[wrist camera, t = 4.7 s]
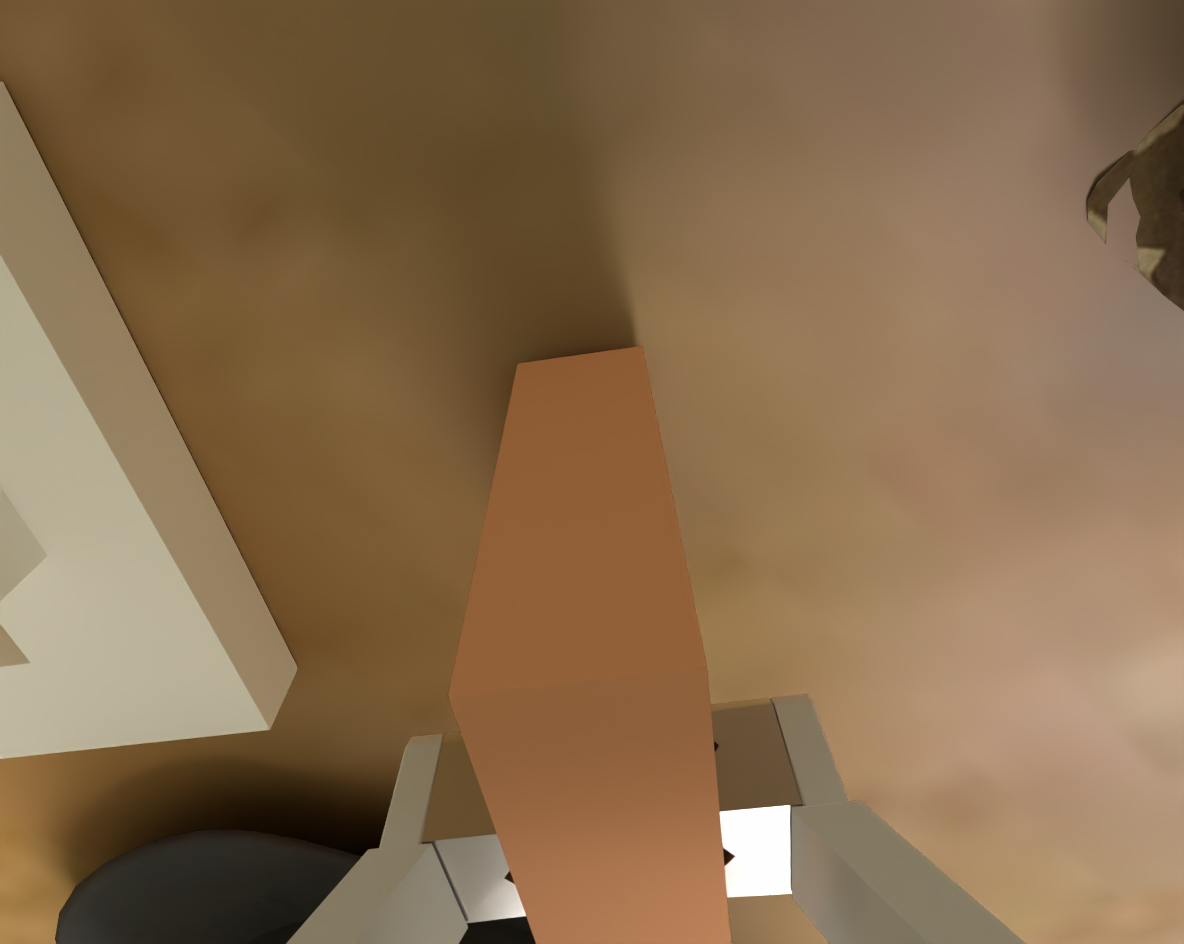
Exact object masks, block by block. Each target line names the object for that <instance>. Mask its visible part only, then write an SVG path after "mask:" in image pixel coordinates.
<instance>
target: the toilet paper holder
mask: <svg viewBox="0 0 1184 944" xmlns="http://www.w3.org/2000/svg"><path fill="white" fill-rule="evenodd" d="M297 670H298V667H297V665H296V663H295V661H294V659H293V657H292V655H291V653H290V651H289V649H288V647H287V645H286V643H285V641H284V639H283V637H282V635H281V633H280V631H279V629H278V627H277V625H276V623H275V621H274V619H273V617H272V615H271V613H270V611H269V609H268V607H267V605H266V603H265V601H264V599H263V597H262V595H261V594H260V592H259V590H258V588H257V586H256V584H255V582H254V580H253V578H252V576H251V574H250V572H249V570H248V568H247V566H246V564H245V562H244V560H243V558H242V556H241V554H240V552H239V550H238V548H237V546H236V544H235V542H234V540H233V538H232V536H231V534H230V532H229V530H228V528H227V526H226V524H225V522H224V520H223V518H222V516H221V514H220V512H219V510H218V508H217V506H216V504H215V502H214V500H213V498H212V496H211V494H210V492H209V490H208V488H207V486H206V484H205V482H204V480H203V478H202V476H201V474H200V472H199V470H198V468H197V466H196V464H195V462H194V460H193V458H192V456H191V454H190V452H189V450H188V448H187V446H186V444H185V442H184V440H183V438H182V436H181V434H180V433H179V431H178V429H177V427H176V425H175V423H174V421H173V419H172V417H171V415H170V413H169V411H168V409H167V407H166V405H165V403H164V401H163V399H162V397H161V395H160V393H159V391H158V389H157V387H156V385H155V383H154V381H153V379H152V377H151V375H150V373H149V371H148V369H147V367H146V365H145V363H144V361H143V359H142V357H141V355H140V353H139V351H138V349H137V347H136V345H135V343H134V341H133V339H132V337H131V335H130V333H129V331H128V329H127V327H126V325H125V323H124V321H123V319H122V317H121V315H120V313H119V311H118V309H117V307H116V305H115V303H114V301H113V299H112V297H111V295H110V293H109V291H108V289H107V287H106V285H105V283H104V281H103V279H102V277H101V275H100V273H99V271H98V270H97V268H96V266H95V264H94V262H93V260H92V258H91V256H90V254H89V252H88V250H87V248H86V246H85V244H84V242H83V240H82V238H81V236H80V234H79V232H78V230H77V228H76V226H75V224H74V222H73V220H72V218H71V216H70V214H69V212H68V210H67V208H66V206H65V204H64V202H63V200H62V198H61V196H60V194H59V192H58V190H57V188H56V186H55V184H54V182H53V180H52V178H51V176H50V174H49V172H48V170H47V168H46V166H45V164H44V162H43V160H42V158H41V156H40V154H39V152H38V150H37V148H36V146H35V144H34V142H33V140H32V138H31V136H30V134H29V132H28V130H27V128H26V126H25V124H24V122H23V120H22V118H21V116H20V114H19V112H18V110H17V109H16V107H15V105H14V103H13V101H12V99H11V97H10V95H9V93H8V91H7V89H6V87H5V85H4V83H3V82H0V759H4V758H14V757H23V756H32V755H41V754H51V753H60V752H69V751H78V750H88V749H97V748H106V747H115V746H125V745H134V744H143V743H152V742H162V741H171V740H180V739H190V738H199V737H208V736H217V735H227V734H236V733H245V732H254V731H264V730H270V729H271V727H272V725H273V722H274V720H275V718H276V716H277V714H278V711H279V709H280V707H281V705H282V703H283V700H284V698H285V696H286V694H287V692H288V689H289V687H290V685H291V683H292V681H293V679H294V676H295V674H296V672H297Z"/></svg>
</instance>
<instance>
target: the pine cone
mask: <svg viewBox="0 0 1184 944" xmlns="http://www.w3.org/2000/svg"><path fill="white" fill-rule="evenodd" d="M1128 178H1130V184H1131V189H1132V195H1133V199H1134V202H1135V204H1136V206H1137V209H1138V211H1139V214H1140V216H1141V218H1140V222H1139V226H1138V230H1137V234H1136V241H1137V251H1138V260H1139V267H1137V266H1135V265H1133V264H1131V263H1129V262H1127V261H1126V262H1127V263H1128V264H1130V265H1131V266H1132V267H1133V268H1135V269H1136V270H1137V271H1138V272H1139V273H1141V274H1142V275H1143V276H1144V277H1145V278H1146V279H1147V280H1148V281H1149V282H1150V283H1151V284H1152V285H1153V286H1154V287H1156V288H1157V289H1158V290H1159V291H1160V292H1161V293H1162V294H1163V295H1164V296H1165V297H1167V298H1168V299H1169V300H1171V301H1172V302H1173V303H1175V304H1176V305H1177V306H1178V307H1180V308H1181V309H1182V310H1184V104H1183V105H1181V106H1179V107H1178V108H1177V109H1176V110H1175V111H1173V112H1172V113H1171V114H1170V115H1169V116H1168V117H1167V118H1165V119H1164V120H1163V121H1162V122H1161V123H1160V124H1159V125H1157V126H1156V127H1155V128H1154V129H1153V130H1152V131H1151V132H1150V133H1149V134H1148V135H1147V136H1146V137H1145V138H1144V139H1143V140H1142V141H1141V143H1140V145H1139V147H1138V149H1137V150H1134V151H1129V152H1128V153H1127V154H1126V155H1125V156H1124V157H1123V158H1122V159H1121V160H1120V161H1119V162H1118V163H1116V164H1115V165H1114V166H1113V167H1112V168H1111V169H1110V170H1109V171H1108V172H1107V173H1106V174H1105V175H1104V176H1103V177H1102V178H1101V179H1100V180H1099V181H1098V182H1097V184H1096V186H1095V188H1094V189H1093V191H1092V193H1091V195H1090V197H1089V199H1088V201H1087V209H1088V222H1089V223H1090V225H1091V226H1092V227H1093V228H1094V230H1095V231H1096V232H1097V233H1098V235H1099V236H1100V237H1101V239H1102V240H1103V241H1104V242H1105V244H1106V232H1107V209H1108V203H1109V202H1110V201H1111V200H1112V198H1113V197H1114V196H1115V194H1116V193H1117V192H1118V191H1119V189H1120V188H1121V187H1122V185H1123V184H1124V183H1125V182H1126V180H1127V179H1128Z"/></svg>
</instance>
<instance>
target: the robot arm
mask: <svg viewBox="0 0 1184 944" xmlns="http://www.w3.org/2000/svg"><path fill="white" fill-rule="evenodd" d="M711 717H712V728H713V740H714V751H715V763H716V774H717V786H718V797H719V809H720V820H721V832H722V843H723V854H724V866H725V877H726V889H727V898H728V897H744V896H760V895H776V894H791V893H792V898H793V899H794V900H795V902H796V903H797V904H798V905H799V907H800V908H801V909H802V910H803V911H804V913H805V914H806V915H807V916H808V918H809V919H810V920H811V921H812V922H813V924H814V925H815V926H816V927H817V929H818V930H819V931H820V932H821V933H822V935H823V936H824V937H825V938H826V940H827V941H828V942H829V943H830V944H1026V943H1025V942H1024V941H1023V940H1022V939H1020V938H1019V937H1018V936H1017V935H1016V934H1015V933H1013V932H1012V931H1011V930H1010V929H1009V928H1008V927H1006V926H1005V925H1004V924H1003V923H1002V922H1001V921H999V920H998V919H997V918H996V917H995V916H994V915H993V914H991V913H990V912H989V911H988V910H987V909H986V908H984V907H983V906H982V905H981V904H980V903H979V902H977V901H976V900H975V899H974V898H973V897H972V896H970V895H969V894H968V893H967V892H966V891H965V890H964V889H962V888H961V887H960V886H959V885H958V884H957V883H955V882H954V881H953V880H952V879H951V878H950V877H948V876H947V875H946V874H945V873H944V872H943V871H941V870H940V869H939V868H938V867H937V866H936V865H935V864H933V863H932V862H931V861H930V860H929V859H928V858H926V857H925V856H924V855H923V854H922V853H921V852H919V851H918V850H917V849H916V848H915V847H914V846H912V845H911V844H910V843H909V842H908V841H907V840H905V839H904V838H903V837H902V836H901V835H900V834H899V833H897V832H896V831H895V830H894V829H893V828H892V827H890V826H889V825H888V824H887V823H886V822H885V821H883V820H882V819H881V818H880V817H879V816H878V815H876V814H875V813H874V812H873V811H872V810H871V809H870V808H868V807H867V806H866V805H865V804H864V803H863V802H861V801H848V798H847V795H846V793H845V790H844V787H843V784H842V781H841V779H840V776H839V773H838V770H837V768H836V765H835V762H834V759H833V757H832V754H831V751H830V748H829V745H828V743H827V740H826V737H825V734H824V732H823V729H822V726H821V723H820V720H819V718H818V715H817V712H816V709H815V707H814V704H813V701H812V699H811V698H810V697H809V696H808V695H807V694H803V695H794V696H785V697H775V698H771V699H769V698H761V699H753V700H745V701H737V702H728V703H720V704H712V705H711ZM522 916H526V914H525V911H524V908H523V906H522V903H521V900H520V897H519V894H518V892H517V889H516V886H515V883H514V880H513V878H512V875H511V872H510V869H509V866H508V864H507V861H506V858H505V855H504V852H503V850H502V847H501V844H500V841H499V838H498V836H497V833H496V830H495V827H494V824H493V822H492V819H491V816H490V813H489V810H488V807H487V805H486V802H485V799H484V796H483V793H482V791H481V788H480V785H479V782H478V779H477V777H476V774H475V771H474V768H473V765H472V763H471V760H470V757H469V754H468V751H467V749H466V746H465V743H464V740H463V737H462V735H461V732H454V733H444V734H434V735H423V736H413V737H411V739H410V741H409V742H408V744H407V745H406V747H405V750H404V754H403V758H402V761H401V765H400V769H399V773H398V777H397V781H396V785H395V788H394V792H393V796H392V800H391V804H390V808H389V812H388V815H387V819H386V823H385V827H384V831H383V835H382V839H381V842H380V846H379V848H375V849H368V850H367V852H366V853H365V854H364V855H363V856H362V857H361V858H360V860H359V861H358V862H357V863H356V864H355V865H354V866H353V868H352V869H351V870H350V871H349V872H348V873H347V874H346V876H345V877H344V878H343V879H342V880H341V881H340V882H339V884H338V885H337V886H336V887H335V888H334V889H333V890H332V892H331V893H330V894H329V895H328V896H327V897H326V898H325V900H324V901H323V902H322V903H321V904H320V905H319V907H318V908H317V909H316V910H315V911H314V912H313V913H312V915H311V916H310V917H309V918H308V919H307V920H306V921H305V923H304V924H303V925H302V926H301V927H300V928H299V929H298V931H297V932H296V933H295V934H294V935H293V936H292V937H291V939H290V940H289V941H288V942H287V943H286V944H459V942H460V941H461V939H462V937H463V935H464V934H465V932H466V930H467V929H468V925H467V923H473V922H481V921H490V920H498V919H506V918H514V917H522Z"/></svg>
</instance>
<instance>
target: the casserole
mask: <svg viewBox="0 0 1184 944" xmlns="http://www.w3.org/2000/svg"><path fill="white" fill-rule="evenodd" d="M361 857H362V856H358V855H355V854H351V853H347V852H344V851H340V850H336V849H333V848H329V847H325V846H322V845H318V844H314V843H311V842H307V841H304V840H300V839H296V838H291V837H285V836H279V835H273V834H267V833H261V832H255V831H244V830H204V831H195V832H189V833H185V834H181V835H177V836H173V837H169V838H165V839H161V840H157V841H153V842H149V843H146V844H144V845H142V846H140V847H138V848H135V849H133V850H131V851H129V852H127V853H125V854H123V855H121V856H118V857H116V858H114V859H112V860H110V861H108V862H106V863H105V864H103V865H102V866H101V867H100V868H98V869H97V870H96V871H95V872H93V873H92V874H91V875H90V876H88V877H87V878H86V879H84V880H83V881H82V882H81V883H79V884H78V885H77V886H76V887H75V889H74V890H73V892H72V893H71V895H70V897H69V898H68V900H67V901H66V903H65V905H64V906H63V908H62V909H61V911H60V913H59V918H58V924H57V930H56V937H55V941H56V944H286V943H287V942H288V941H289V940H290V939H291V937H292V936H293V935H294V934H295V933H296V932H297V931H298V929H299V928H300V927H301V926H302V925H303V924H304V923H305V921H306V920H307V919H308V918H309V917H310V916H311V915H312V913H313V912H314V911H315V910H316V909H317V908H318V907H319V905H320V904H321V903H322V902H323V901H324V900H325V898H326V897H327V896H328V895H329V894H330V893H331V892H332V890H333V889H334V888H335V887H336V886H337V885H338V884H339V882H340V881H341V880H342V879H343V878H344V877H345V876H346V874H347V873H348V872H349V871H350V870H351V869H352V868H353V866H354V865H355V864H356V863H357V862H358V861H359V860H360V858H361ZM467 925H468V929H467V930H466V932H465V934H464V935H463V937H462V939H461V941H460V942H459V944H536V942H535V939H534V936H533V934H532V931H531V928H530V925H529V922H528V920H527V917H526V916H522V917H514V918H506V919H498V920H490V921H481V922H473V923H467Z"/></svg>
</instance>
